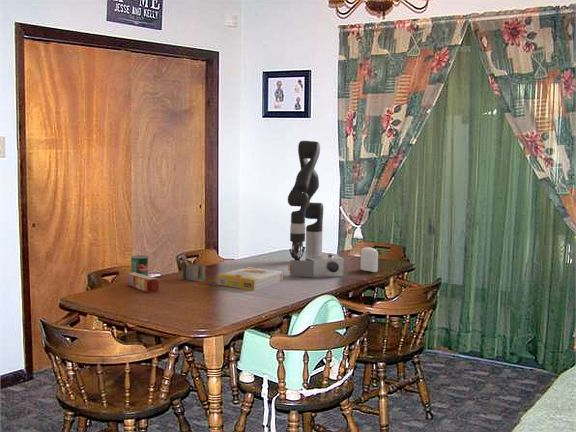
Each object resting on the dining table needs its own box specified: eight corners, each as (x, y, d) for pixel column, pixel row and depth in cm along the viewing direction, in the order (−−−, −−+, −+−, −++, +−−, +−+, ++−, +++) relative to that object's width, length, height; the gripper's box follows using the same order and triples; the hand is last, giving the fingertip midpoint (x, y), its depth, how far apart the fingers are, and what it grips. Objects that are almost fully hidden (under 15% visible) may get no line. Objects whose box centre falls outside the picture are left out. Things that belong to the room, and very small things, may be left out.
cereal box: (216, 274, 331) (247, 265, 356) (216, 286, 332) (247, 276, 357) (254, 279, 322) (283, 270, 347) (254, 291, 323) (283, 281, 347)
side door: (312, 276, 356) (313, 261, 355) (312, 277, 354) (312, 261, 354) (288, 275, 359) (288, 259, 358) (287, 275, 357) (288, 260, 356)
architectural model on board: (181, 280, 346) (182, 260, 344) (185, 279, 348) (185, 259, 347) (201, 282, 340) (201, 262, 339) (205, 281, 343) (205, 261, 342)
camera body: (305, 272, 368) (305, 253, 367) (334, 271, 373) (335, 252, 372) (314, 278, 354) (315, 258, 353) (344, 276, 359) (345, 257, 358)
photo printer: (359, 269, 380) (359, 246, 379) (364, 269, 383) (365, 246, 381) (373, 272, 372) (373, 249, 371) (378, 271, 375) (379, 248, 374)
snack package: (125, 286, 328) (124, 271, 327) (138, 284, 332) (138, 270, 331) (146, 294, 311) (146, 278, 311) (160, 292, 315) (160, 277, 315)
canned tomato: (144, 281, 339) (144, 258, 338) (128, 280, 340) (128, 257, 339) (150, 278, 347) (150, 255, 345) (135, 277, 348) (135, 254, 347)
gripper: (297, 230, 367) (296, 263, 368) (284, 232, 355) (284, 267, 357) (310, 231, 363) (309, 265, 365) (297, 233, 351) (297, 268, 353)
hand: (297, 266), depth 361 cm, fingers closed
